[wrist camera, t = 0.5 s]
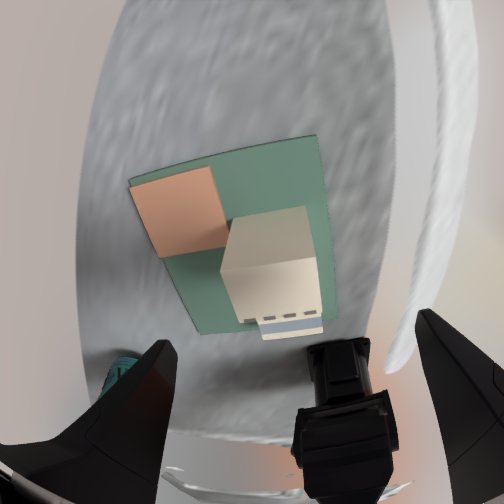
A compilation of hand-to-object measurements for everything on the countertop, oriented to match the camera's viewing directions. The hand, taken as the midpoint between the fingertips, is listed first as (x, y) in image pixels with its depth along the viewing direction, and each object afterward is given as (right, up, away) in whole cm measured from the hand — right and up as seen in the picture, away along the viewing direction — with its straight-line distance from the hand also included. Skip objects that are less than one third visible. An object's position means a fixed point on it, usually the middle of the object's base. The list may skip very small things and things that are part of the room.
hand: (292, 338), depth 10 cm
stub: (0, +4, +11) cm, 12 cm away
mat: (-2, +3, +13) cm, 13 cm away
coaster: (-6, +6, +11) cm, 14 cm away
